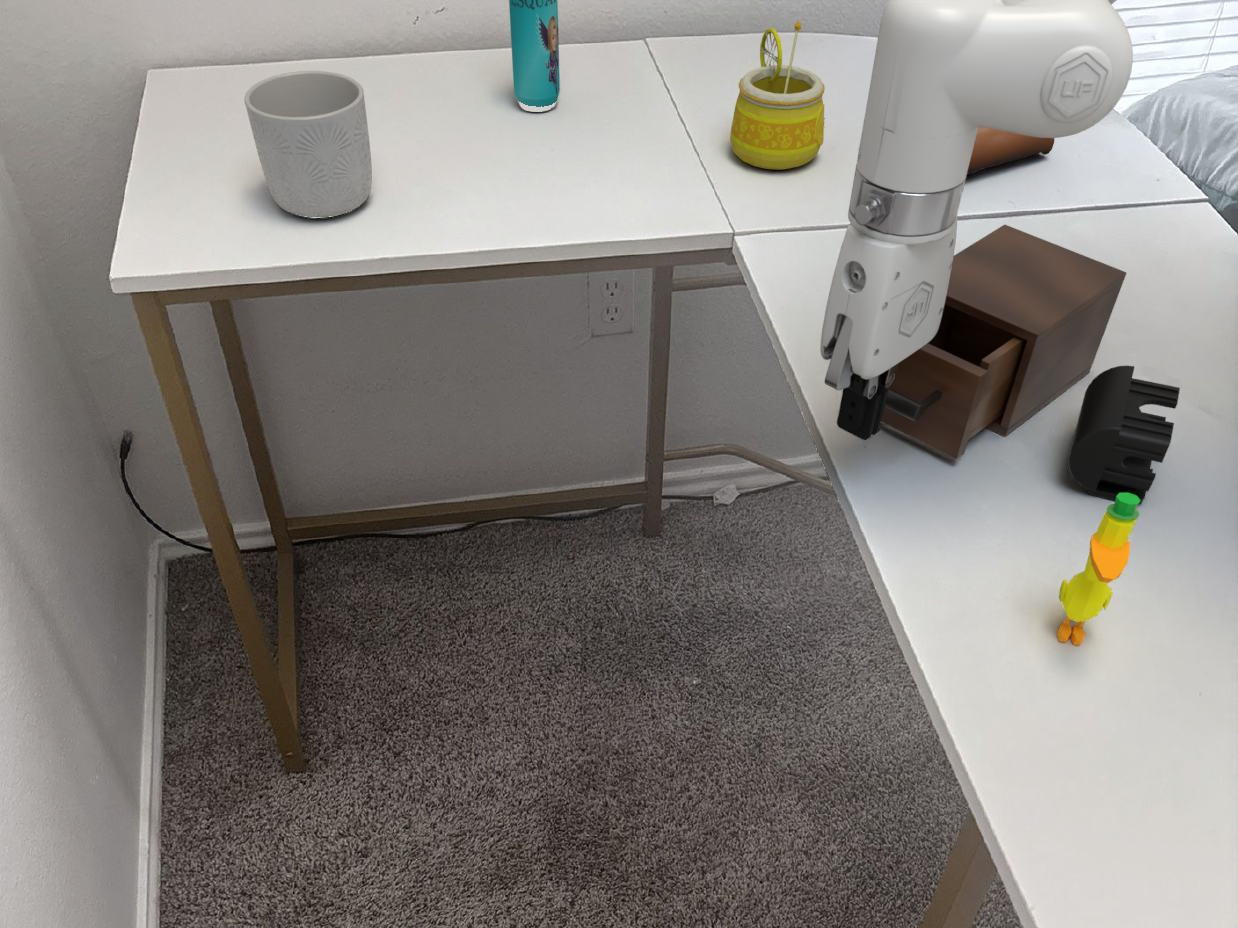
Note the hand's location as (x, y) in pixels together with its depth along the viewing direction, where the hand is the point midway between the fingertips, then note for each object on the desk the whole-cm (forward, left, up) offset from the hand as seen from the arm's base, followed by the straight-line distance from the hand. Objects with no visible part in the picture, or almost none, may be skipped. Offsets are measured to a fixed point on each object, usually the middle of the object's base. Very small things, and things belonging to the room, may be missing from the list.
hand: (857, 429), depth 95 cm
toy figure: (-24, +4, -5) cm, 25 cm away
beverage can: (+75, -34, -5) cm, 83 cm away
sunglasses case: (+27, -59, -5) cm, 65 cm away
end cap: (-15, -17, -5) cm, 23 cm away
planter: (+73, +1, -5) cm, 73 cm away
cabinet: (0, -22, -5) cm, 23 cm away
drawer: (0, -12, -4) cm, 13 cm away
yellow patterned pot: (+45, -45, -5) cm, 64 cm away
